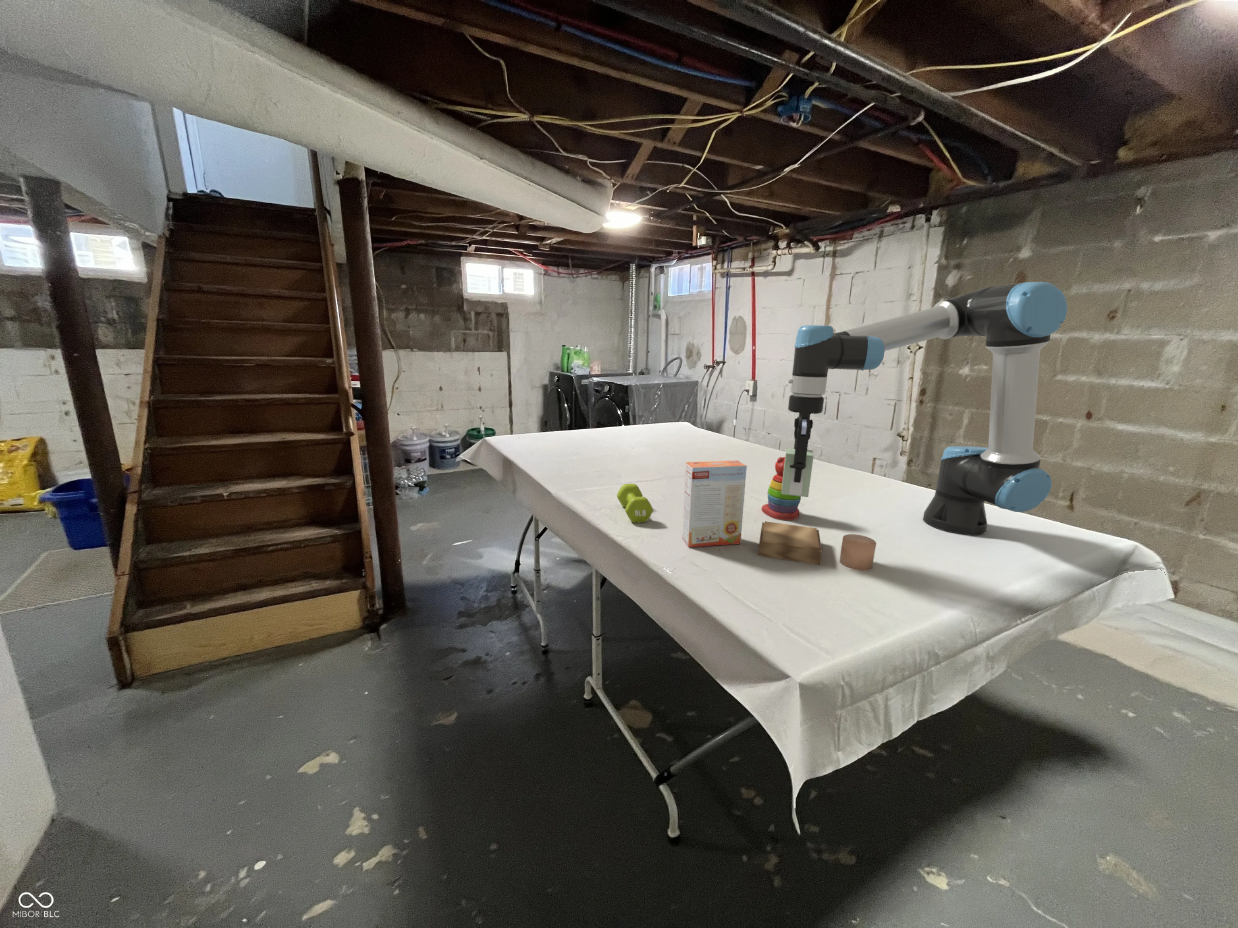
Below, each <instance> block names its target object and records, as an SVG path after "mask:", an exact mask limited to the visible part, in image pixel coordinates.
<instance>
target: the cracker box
mask: <svg viewBox="0 0 1238 928" xmlns="http://www.w3.org/2000/svg"><path fill="white" fill-rule="evenodd" d="M747 467H748V466H747V465H746V464H744V463H743V462H741V461H739V460H714V461H713V460H712V461H710V460H709V461H708V460H707V461H686V462H685V472H684V473H685V474H684V475H685V476H684V477H685V478H684V494H683V495H684V498H683V515H682V516H683V518H682V519H683V521H682V540H683V541H684V543H685V545H687V546H688V548H694V547H696V548H697V547H712V546H727V545H740V544H741V540H742V530H743V518H744V507H745V506H744V504H745V493H746V478H747Z"/></svg>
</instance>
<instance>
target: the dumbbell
mask: <svg viewBox="0 0 1238 928" xmlns="http://www.w3.org/2000/svg"><path fill="white" fill-rule="evenodd" d="M616 498H617V499H618V501H619V503H620V504H621V507H623V508H624V511H625V513H626V515H627V517H628V519H629V521H630V522H631V523H633V524H638V523H639V524H640V523H641V524H642V522H643V523H646V522H647V521H648V520H649V518H650V517H651V516H652V514H653V512H654V509H653V508H654V507H652V506H653V505H652V504H651V502H650V501H649V499H648V498H647V497H646V496H644V495H643V493H642V491H641V489H640V488H639V486H638V485H637V484H636V483H624V484H622V486H620V488H619V490H618V492H617V493H616ZM625 507H626V508H625Z"/></svg>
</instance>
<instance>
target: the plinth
mask: <svg viewBox="0 0 1238 928" xmlns="http://www.w3.org/2000/svg"><path fill="white" fill-rule="evenodd" d="M760 529H761V530H760V536H759V543H758V551H757V552H758V553H757V556H759V557H766V558H767V557H768V558H773V559H777V560H778V559H779V560H785V561H791V562H798V563H805V564H811V565H817V566H820V565H821V561H822V555H823V550H822V549H823V548H822V543H821V536H820V530H819V529H817V527H811V526H801V525H796V524H788V523H782V522H781V523H779V522H774V521H773V522H772V521H764V522H763V521H762V522H761V528H760Z"/></svg>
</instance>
